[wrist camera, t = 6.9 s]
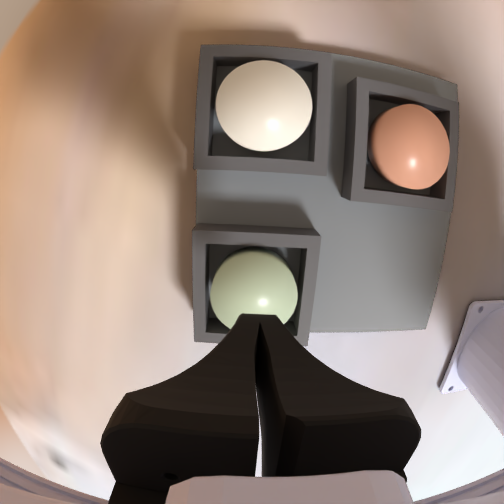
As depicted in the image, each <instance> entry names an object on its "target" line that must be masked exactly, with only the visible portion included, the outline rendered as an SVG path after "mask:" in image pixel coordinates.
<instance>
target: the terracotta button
mask: <svg viewBox="0 0 504 504" xmlns="http://www.w3.org/2000/svg"><path fill="white" fill-rule="evenodd" d="M367 151H368V156H369V159H370V161H371V163H372V165H373V167H374V169H375V170H376V172H377V173H378V174H379V175H380V176H381V177H382V178H383V179H384V180H386V181H387V182H389V183H391V184H394V185H397V186H401V187H406V188H410V189H424V188H427V187H430V186H432V185H433V184H435V183H436V182H437V181H438V180H439V179H440V178H441V177H442V175H443V174H444V172H445V170H446V168H447V165H448V161H449V155H450V147H449V140H448V136H447V133H446V131H445V129H444V127H443V125H442V123H441V122H440V120H439V119H438V118H437V117H436V116H435V115H434V114H433V113H432V112H431V111H429V110H428V109H426V108H424V107H422V106H419V105H415V104H405V105H401V106H397V107H394V108H391V109H388V110H385V111H383V112H382V113H380V114H379V115H378V116H377V117H376V118H375V119H374V121H373V122H372V124H371V126H370V128H369V131H368V139H367Z"/></svg>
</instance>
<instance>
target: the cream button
mask: <svg viewBox="0 0 504 504" xmlns="http://www.w3.org/2000/svg"><path fill="white" fill-rule="evenodd" d="M216 113H217V117H218V120H219V122H220V125H221V126H222V128H223V130H224V131H225V132H226V133H227V135H228V136H229V137H230V138H231V139H232V140H233V141H235V142H236V143H237V144H239V145H241V146H242V147H244V148H247V149H250V150H254V151H261V152H264V151H273V150H277V149H280V148H282V147H285V146H287V145H289V144H291V143H292V142H294V141H295V140H296V139H298V138H299V137H300V136H301V135H302V133H303V132H304V131H305V129H306V128H307V126H308V124H309V121H310V118H311V114H312V98H311V94H310V91H309V89H308V87H307V85H306V83H305V82H304V80H303V79H302V78H301V77H300V75H299V74H297V73H296V72H295V71H294V70H292V69H291V68H289V67H288V66H286V65H283V64H281V63H278V62H274V61H267V60H259V61H253V62H249V63H246V64H243V65H241V66H239V67H237V68H236V69H234V70H233V71H232V72H231V73H230V74H228V75H227V77H226V78H225V79H224V80H223V82H222V84H221V85H220V87H219V90H218V93H217V96H216Z"/></svg>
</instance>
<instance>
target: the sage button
mask: <svg viewBox="0 0 504 504" xmlns="http://www.w3.org/2000/svg"><path fill="white" fill-rule="evenodd" d="M297 299H298V292H297V286H296V283H295V280H294V277H293V274H292V271H291V269H290V267H289V265H288V264H287V263H286V261H285V260H284V259H283V258H282V257H281V256H279V255H278V254H277V253H275V252H273V251H271V250H268V249H265V248H260V247H248V248H243V249H239V250H237V251H235V252H233V253H231V254H230V255H228V256H227V257H226V258H225V259H224V260H223V261H222V262H221V263H220V265H219V266H218V268H217V270H216V273H215V276H214V279H213V283H212V286H211V291H210V300H211V305H212V308H213V311H214V312H215V314H216V316H217V317H218V319H219V320H220V321H221V322H222V323H223V324H224V325H225V326H227V327H228V328H230V329H231V328H232V327H233V325H234V324H235V322H236V320H237V318H238V316H239V315H240V314H242V313H246V314H269V315H277V316H278V317H279V319H280V320H281V321H282V323H283V324H285V323H286V322H287V321H288V319H289V318H290V317H291V315H292V314H293V312H294V310H295V307H296V304H297Z"/></svg>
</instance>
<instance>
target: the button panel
mask: <svg viewBox="0 0 504 504" xmlns="http://www.w3.org/2000/svg"><path fill="white" fill-rule="evenodd" d="M259 60H267V61H274V62H278V63H281V64H283V65H286V66H288V67H289V68H291V69H292V70H294V71H295V72H296V73H297V74H299V75H300V77H301V78H302V79H303V80H304V82H305V83H306V85H307V87H308V89H309V91H310V94H311V98H312V114H311V118H310V121H309V124H308V126H307V128H306V129H305V131H304V132H303V133H302V135H301V136H300V137H299V138H298V139H296V140H295V141H294V142H292V143H291V144H289V145H287V146H285V147H282V148H280V149H277V150H273V151H264V152H261V151H254V150H250V149H247V148H244V147H242V146H241V145H239V144H237V143H236V142H235V141H233V140H232V139H231V138H230V137H229V136H228V135H227V133H226V132H225V131H224V130H223V128H222V126H221V125H220V122H219V120H218V117H217V113H216V96H217V93H218V90H219V87H220V85H221V84H222V82H223V80H224V79H225V78H226V77H227V75H228V74H230V73H231V72H232V71H233V70H234V69H236V68H237V67H239V66H241V65H243V64H246V63H249V62H253V61H259ZM405 104H415V105H419V106H422V107H424V108H426V109H428V110H429V111H431V112H432V113H433V114H434V115H435V116H436V117H437V118H438V119H439V120H440V122H441V123H442V125H443V127H444V129H445V131H446V133H447V136H448V140H449V147H450V155H449V161H448V165H447V168H446V170H445V172H444V174H443V175H442V177H441V178H440V179H439V180H438V181H437V182H436V183H435V184H433V185H432V186H430V187H427V188H424V189H410V188H406V187H401V186H397V185H394V184H391V183H389V182H387V181H386V180H384V179H383V178H382V177H381V176H380V175H379V174H378V173H377V172H376V170H375V169H374V167H373V165H372V163H371V161H370V159H369V156H368V151H367V139H368V131H369V128H370V126H371V124H372V122H373V121H374V119H375V118H376V117H377V116H378V115H379V114H380V113H382V112H383V111H385V110H388V109H391V108H394V107H397V106H401V105H405ZM458 137H459V102H458V93H457V84H454V83H451V82H448V81H445V80H442V79H439V78H436V77H433V76H430V75H427V74H423V73H420V72H416V71H413V70H409V69H405V68H402V67H398V66H394V65H390V64H385V63H381V62H377V61H372V60H367V59H362V58H357V57H352V56H346V55H340V54H334V53H329V52H322V51H314V50H306V49H297V48H287V47H274V46H258V45H201V49H200V60H199V73H198V86H197V101H196V118H195V138H194V163H193V169H197V190H196V226H195V227H194V228H193V230H192V281H193V321H194V342H206V343H220V342H221V341H222V339H223V338H224V337H225V336H226V335H227V333H228V332H229V331H230V328H228V327H227V326H225V325H224V324H223V323H222V322H221V321H220V320H219V319H218V317H217V316H216V314H215V312H214V311H213V308H212V305H211V300H210V291H211V286H212V283H213V279H214V276H215V273H216V270H217V268H218V266H219V265H220V263H221V262H222V261H223V260H224V259H225V258H226V257H227V256H228V255H230V254H231V253H233V252H235V251H237V250H239V249H243V248H248V247H260V248H265V249H268V250H271V251H273V252H275V253H277V254H278V255H279V256H281V257H282V258H283V259H284V260H285V261H286V263H287V264H288V265H289V267H290V269H291V271H292V274H293V277H294V280H295V283H296V286H297V292H298V299H297V304H296V307H295V310H294V312H293V314H292V315H291V317H290V318H289V319H288V321H287V322H286V323H285V324H284V325H285V327H286V328H287V329H288V330H289V332H290V333H291V334H292V335H293V336H294V337H295V339H296V340H297V341H298V342H299V343H300V344H301V345H302V346H307V345H308V338H309V332H379V331H404V330H422V329H426V326H427V323H428V319H429V316H430V312H431V309H432V305H433V301H434V297H435V293H436V289H437V285H438V280H439V276H440V271H441V267H442V262H443V257H444V252H445V246H446V241H447V235H448V229H449V222H450V215H451V212H452V209H453V201H454V193H455V183H456V172H457V158H458Z"/></svg>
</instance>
